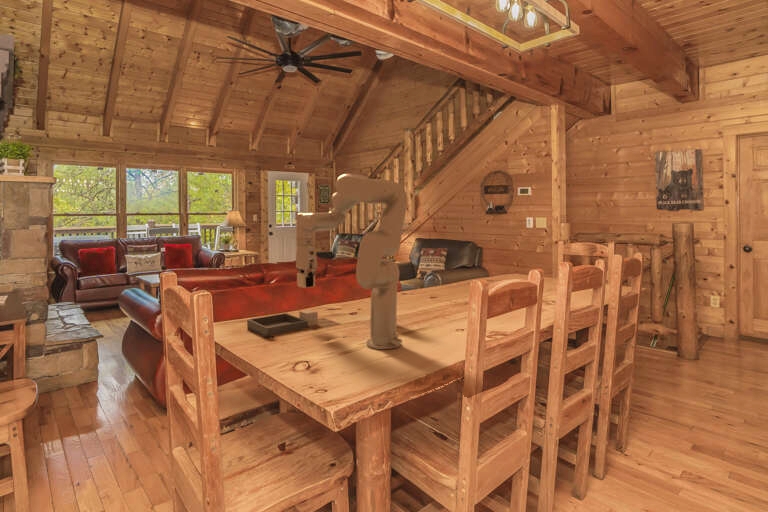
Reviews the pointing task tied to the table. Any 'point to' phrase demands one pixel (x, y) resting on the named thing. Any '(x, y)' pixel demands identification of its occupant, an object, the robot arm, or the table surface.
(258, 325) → the charcoal bin
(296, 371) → the table surface
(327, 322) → the walnut board
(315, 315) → the beige cube
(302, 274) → the peach cube
